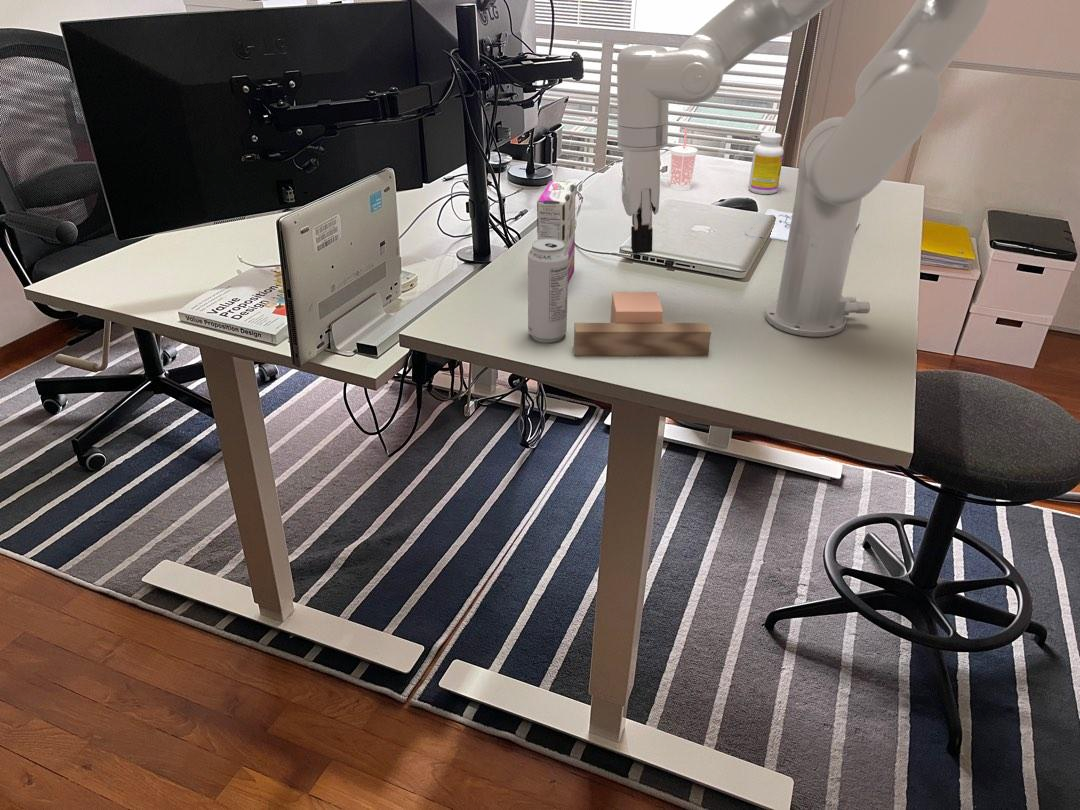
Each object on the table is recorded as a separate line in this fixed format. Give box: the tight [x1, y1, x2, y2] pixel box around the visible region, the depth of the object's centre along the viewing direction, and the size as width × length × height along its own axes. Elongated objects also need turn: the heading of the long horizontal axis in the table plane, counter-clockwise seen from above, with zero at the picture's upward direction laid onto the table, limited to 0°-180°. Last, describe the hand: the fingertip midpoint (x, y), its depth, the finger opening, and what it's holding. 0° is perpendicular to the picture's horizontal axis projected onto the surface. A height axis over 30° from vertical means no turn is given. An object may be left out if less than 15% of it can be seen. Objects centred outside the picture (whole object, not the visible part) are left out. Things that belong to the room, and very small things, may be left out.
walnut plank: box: [573, 322, 712, 357], centre depth 124 cm, size 20×3×4 cm, turn 91°
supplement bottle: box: [748, 131, 785, 195], centre depth 190 cm, size 7×7×13 cm
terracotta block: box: [609, 291, 664, 323], centre depth 128 cm, size 7×7×6 cm
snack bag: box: [764, 208, 861, 243], centre depth 171 cm, size 19×20×2 cm
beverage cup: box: [670, 126, 698, 192], centre depth 191 cm, size 6×6×14 cm
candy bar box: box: [536, 180, 577, 284], centre depth 143 cm, size 11×5×16 cm, turn 168°
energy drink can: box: [527, 238, 569, 344], centre depth 125 cm, size 6×6×15 cm
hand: (641, 251), depth 134 cm, fingers closed
